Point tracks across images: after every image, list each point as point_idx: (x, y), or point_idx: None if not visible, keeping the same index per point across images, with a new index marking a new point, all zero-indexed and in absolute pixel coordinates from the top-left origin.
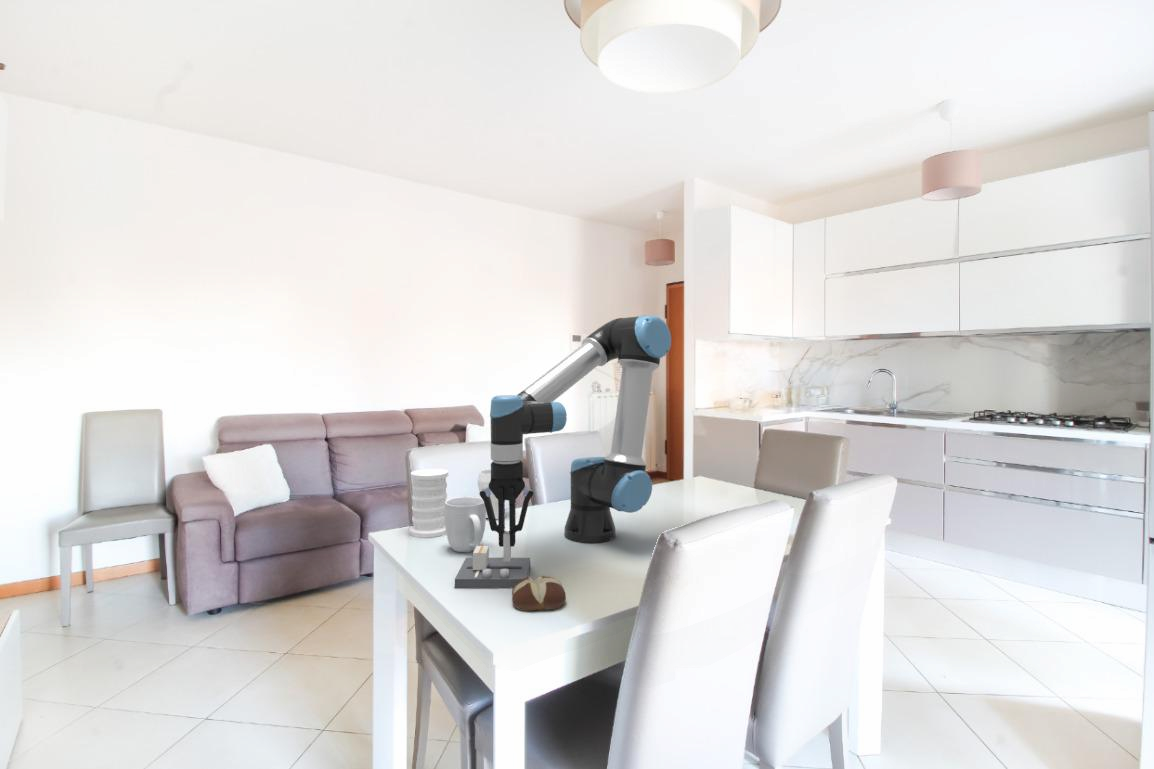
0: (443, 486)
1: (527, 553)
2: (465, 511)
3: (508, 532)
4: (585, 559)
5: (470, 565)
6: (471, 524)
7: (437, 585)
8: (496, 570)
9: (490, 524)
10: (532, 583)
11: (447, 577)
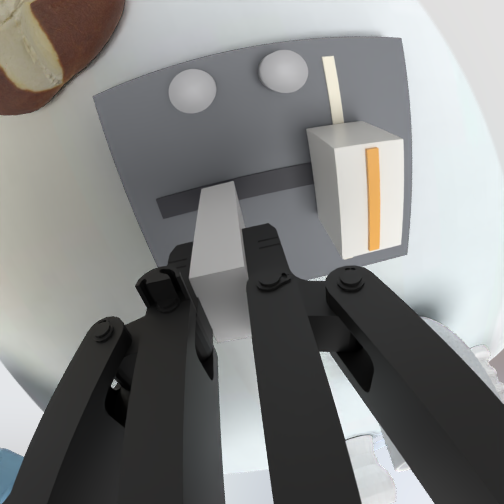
0: None
1: (230, 358)
2: None
3: (218, 313)
4: (69, 347)
5: None
6: None
7: (439, 65)
8: (260, 151)
9: (394, 302)
10: (23, 4)
11: (430, 132)
